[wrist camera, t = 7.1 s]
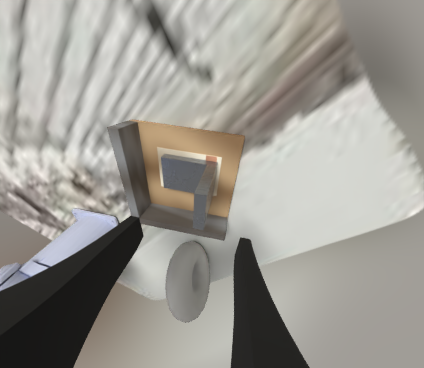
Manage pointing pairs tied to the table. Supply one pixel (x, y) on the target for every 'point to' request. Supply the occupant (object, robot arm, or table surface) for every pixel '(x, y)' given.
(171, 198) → the tray
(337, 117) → the table surface
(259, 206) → the table surface
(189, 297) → the donut
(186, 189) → the bracket
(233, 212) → the table surface
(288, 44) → the table surface
